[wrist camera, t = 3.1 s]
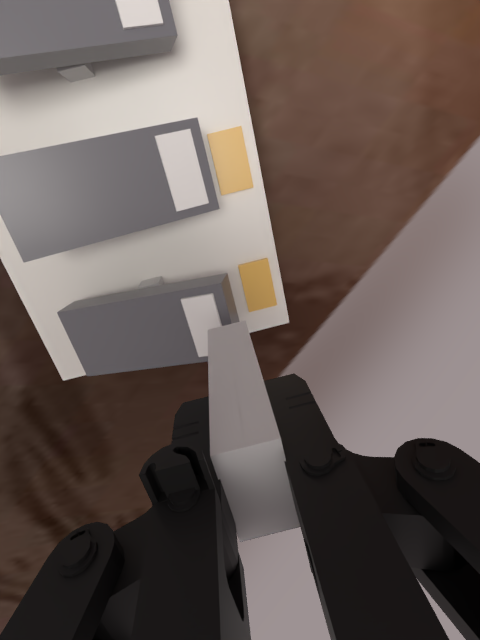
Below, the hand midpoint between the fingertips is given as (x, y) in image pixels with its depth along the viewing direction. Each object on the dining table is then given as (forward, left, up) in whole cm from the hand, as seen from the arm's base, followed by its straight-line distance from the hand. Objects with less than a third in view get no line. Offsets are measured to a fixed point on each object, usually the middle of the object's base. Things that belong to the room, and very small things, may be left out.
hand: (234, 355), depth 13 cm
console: (-4, +7, -12) cm, 14 cm away
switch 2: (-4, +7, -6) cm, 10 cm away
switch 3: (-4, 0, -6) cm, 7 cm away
